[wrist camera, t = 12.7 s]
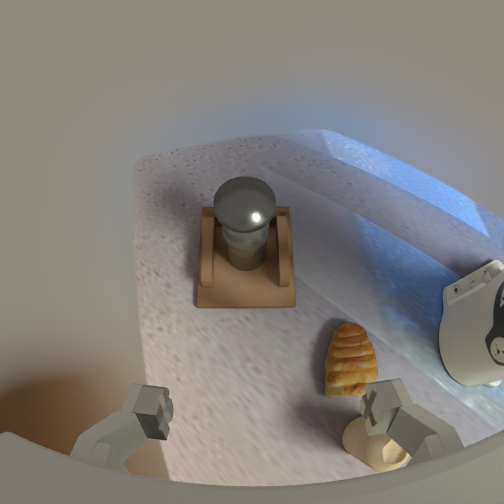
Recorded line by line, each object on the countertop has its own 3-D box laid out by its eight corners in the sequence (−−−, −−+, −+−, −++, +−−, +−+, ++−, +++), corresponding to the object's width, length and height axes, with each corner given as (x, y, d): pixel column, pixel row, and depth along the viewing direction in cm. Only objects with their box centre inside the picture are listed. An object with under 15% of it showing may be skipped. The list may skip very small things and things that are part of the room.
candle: (340, 419, 32) (370, 430, 22) (381, 411, 32) (421, 418, 22) (341, 459, 29) (370, 481, 20) (382, 450, 29) (420, 466, 20)
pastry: (320, 326, 37) (327, 320, 33) (369, 323, 37) (381, 316, 33) (322, 400, 33) (330, 402, 29) (373, 394, 33) (386, 394, 29)
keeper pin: (255, 226, 41) (256, 168, 30) (277, 261, 39) (287, 211, 28) (216, 244, 40) (203, 191, 29) (236, 282, 38) (230, 238, 27)
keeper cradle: (203, 210, 43) (200, 197, 40) (288, 209, 43) (290, 196, 40) (197, 308, 37) (193, 301, 34) (294, 307, 37) (298, 300, 34)
